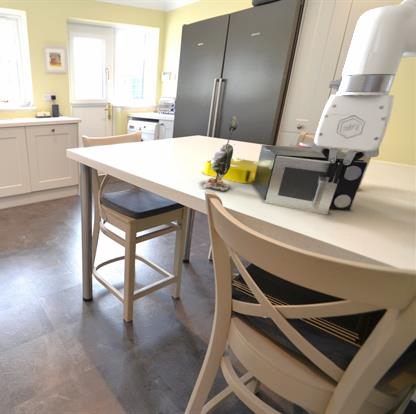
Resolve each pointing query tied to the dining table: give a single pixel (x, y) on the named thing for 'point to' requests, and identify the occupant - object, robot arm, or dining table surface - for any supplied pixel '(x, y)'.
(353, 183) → the microwave
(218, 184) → the plant with pod
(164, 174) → the dining table surface
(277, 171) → the microwave door
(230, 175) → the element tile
